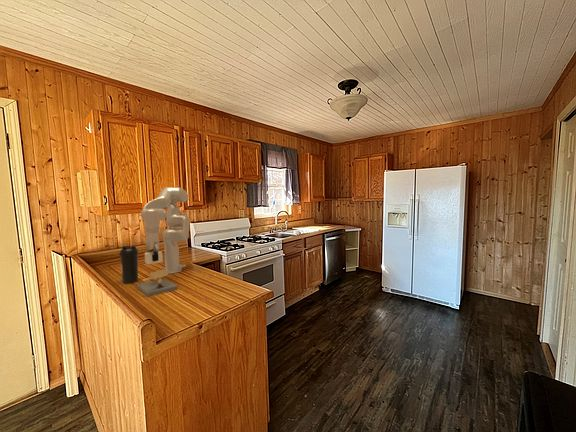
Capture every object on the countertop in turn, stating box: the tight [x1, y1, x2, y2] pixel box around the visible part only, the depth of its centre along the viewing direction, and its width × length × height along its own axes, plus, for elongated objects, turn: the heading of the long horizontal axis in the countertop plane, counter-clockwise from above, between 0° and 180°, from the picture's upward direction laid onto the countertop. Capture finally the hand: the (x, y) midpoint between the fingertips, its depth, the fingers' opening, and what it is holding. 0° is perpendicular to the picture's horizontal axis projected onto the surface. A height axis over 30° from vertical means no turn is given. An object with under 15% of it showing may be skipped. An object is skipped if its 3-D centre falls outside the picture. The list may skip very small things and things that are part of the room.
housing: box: [137, 278, 179, 297], centre depth 151 cm, size 16×20×2 cm
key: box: [141, 268, 169, 287], centre depth 145 cm, size 2×14×9 cm, turn 151°
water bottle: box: [118, 245, 139, 285], centre depth 164 cm, size 10×10×23 cm
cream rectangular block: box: [144, 250, 163, 265], centre depth 154 cm, size 8×6×6 cm
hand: (153, 259), depth 154 cm, fingers closed on cream rectangular block, 6 cm apart
